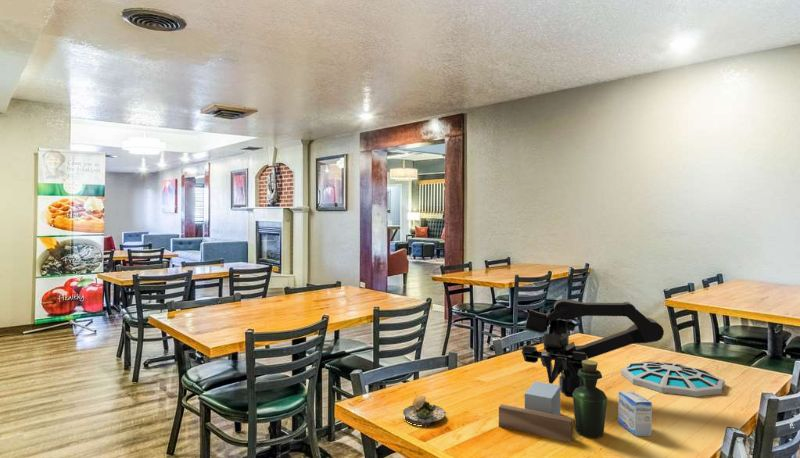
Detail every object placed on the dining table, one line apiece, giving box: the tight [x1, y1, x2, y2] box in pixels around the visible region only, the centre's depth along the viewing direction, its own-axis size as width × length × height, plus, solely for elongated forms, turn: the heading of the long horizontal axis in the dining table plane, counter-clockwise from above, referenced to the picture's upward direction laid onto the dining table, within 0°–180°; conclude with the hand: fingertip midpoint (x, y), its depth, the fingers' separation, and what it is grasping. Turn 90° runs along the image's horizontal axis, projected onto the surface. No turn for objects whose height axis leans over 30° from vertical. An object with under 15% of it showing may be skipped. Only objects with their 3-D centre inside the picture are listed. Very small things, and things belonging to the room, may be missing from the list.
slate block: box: [524, 380, 561, 416], centre depth 125 cm, size 11×7×8 cm, turn 149°
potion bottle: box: [572, 359, 608, 439], centre depth 116 cm, size 8×8×18 cm
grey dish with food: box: [402, 392, 447, 427], centre depth 126 cm, size 12×12×8 cm
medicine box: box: [617, 390, 653, 437], centre depth 118 cm, size 8×4×9 cm, turn 5°
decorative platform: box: [620, 360, 726, 398], centre depth 156 cm, size 31×29×5 cm
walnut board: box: [498, 404, 574, 443], centre depth 117 cm, size 2×18×5 cm, turn 60°
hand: (550, 382), depth 134 cm, fingers closed
